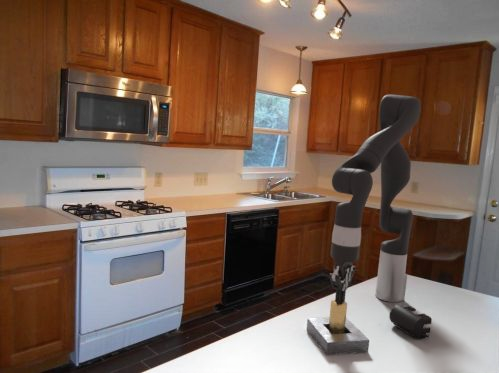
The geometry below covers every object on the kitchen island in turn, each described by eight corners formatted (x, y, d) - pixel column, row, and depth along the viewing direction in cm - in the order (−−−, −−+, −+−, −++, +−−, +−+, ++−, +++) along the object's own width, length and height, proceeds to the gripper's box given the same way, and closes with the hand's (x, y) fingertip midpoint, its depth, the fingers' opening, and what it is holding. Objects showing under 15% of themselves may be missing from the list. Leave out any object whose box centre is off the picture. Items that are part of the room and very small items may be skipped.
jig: (344, 327, 122) (345, 316, 121) (368, 352, 108) (369, 339, 108) (306, 329, 119) (307, 318, 119) (326, 355, 105) (327, 342, 105)
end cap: (387, 326, 125) (390, 305, 124) (405, 323, 128) (407, 302, 127) (412, 341, 116) (415, 319, 115) (430, 338, 119) (433, 316, 118)
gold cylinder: (339, 335, 116) (342, 299, 115) (346, 343, 112) (350, 305, 111) (324, 336, 115) (328, 299, 114) (331, 344, 111) (335, 306, 110)
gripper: (349, 249, 103) (342, 314, 105) (368, 240, 113) (361, 299, 115) (322, 242, 107) (316, 305, 109) (342, 235, 118) (337, 292, 120)
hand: (339, 302), depth 112 cm, fingers closed
